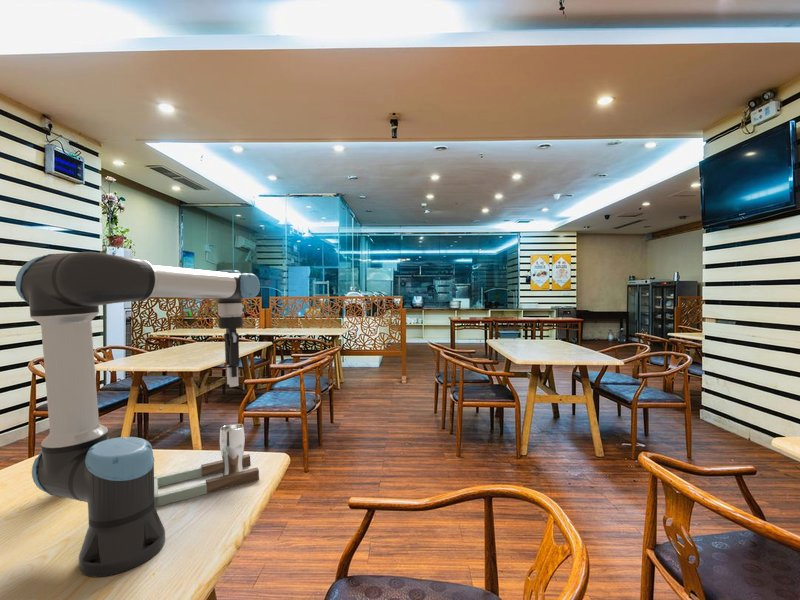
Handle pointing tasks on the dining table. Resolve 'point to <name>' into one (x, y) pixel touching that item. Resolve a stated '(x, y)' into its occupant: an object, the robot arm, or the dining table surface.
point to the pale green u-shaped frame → (179, 493)
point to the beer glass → (232, 447)
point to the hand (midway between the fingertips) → (232, 384)
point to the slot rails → (228, 479)
